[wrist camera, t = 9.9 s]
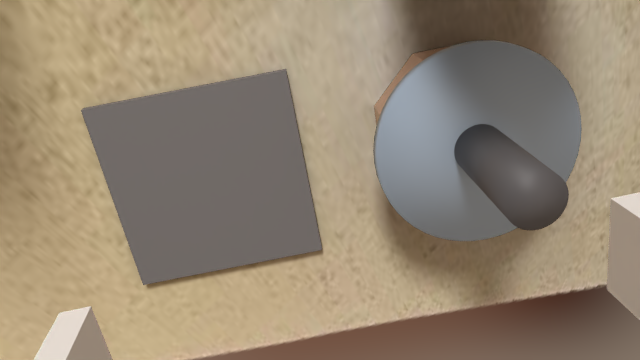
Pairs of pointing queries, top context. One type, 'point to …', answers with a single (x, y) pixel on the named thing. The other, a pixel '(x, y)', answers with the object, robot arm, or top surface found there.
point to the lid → (478, 142)
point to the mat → (207, 176)
